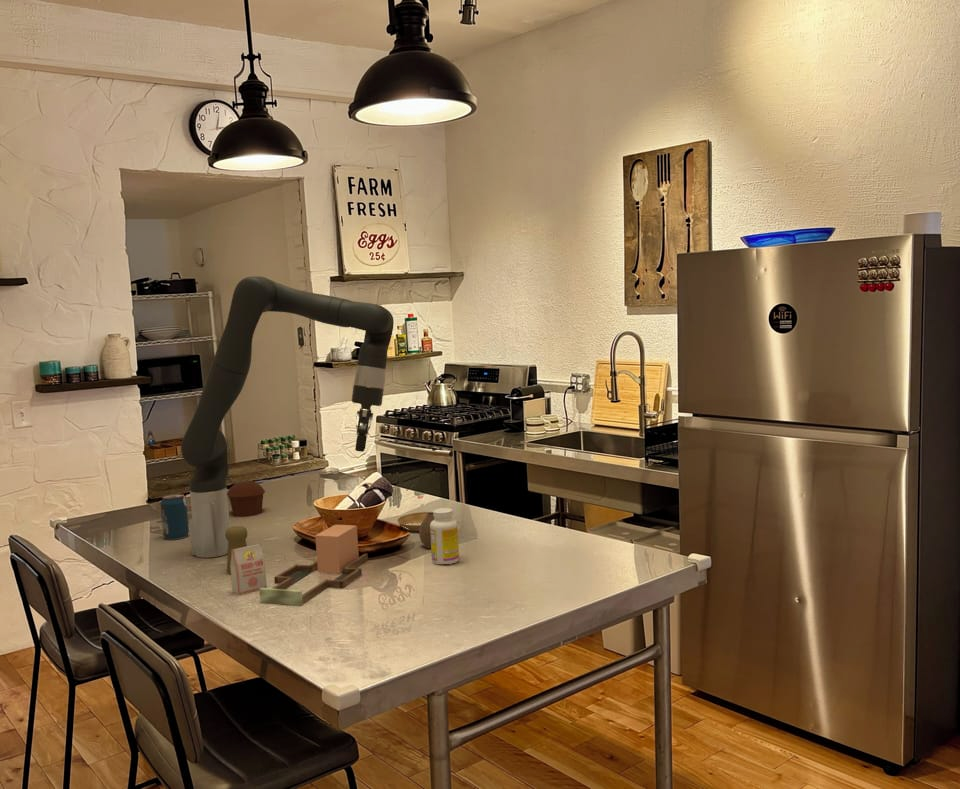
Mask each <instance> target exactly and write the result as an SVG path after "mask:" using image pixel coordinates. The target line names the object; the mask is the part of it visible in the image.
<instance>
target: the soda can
mask: <svg viewBox="0 0 960 789" xmlns="http://www.w3.org/2000/svg"><path fill="white" fill-rule="evenodd" d="M187 503H188V502H187V500H186V498H185V495H184V494H183V493H170V494H165V495H163V496H162V498H161V501H160V514H161V525H162V534H163V537H164V538H165V539H166V540H170V541H171V540H172V541H173V540H175V541H176V540H180V539H181V540H182V539H185V538H187V536H188V535H189V533H190V526H189V517H188V515H189V514H188V507H187V506H188V505H187Z"/></svg>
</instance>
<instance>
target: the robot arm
mask: <svg viewBox="0 0 960 789" xmlns="http://www.w3.org/2000/svg"><path fill="white" fill-rule="evenodd" d="M267 312H271V313H273V312H276V313H277V312H278V313H279V312H280V313H287V314H294V315H297V316H300V317H304V318H306V319H309V320H312V321H315V322H318V323H322V324H326V325H332V326H335V327H341V328H352V329H357V330H362V331H365V332H364V339H363V343H362V344H361V345H360V348H359V352H358V358H357V366H356V370H355V375H354V380H353V387H352V395H351V403H353V404H359V405H361V406H360V409H359V410H357V411H356V425H355V428H356V432H355V433H356V443H355V447H354V448H355V451H356V452H361V453H362V452H365V449H366V444H367V438H368V434H369V430H370V429H371V426H372V420H373V416H374V412H372V408H371V407H372V406H376V407H381V406H382V405H383V398H384V389H385V382H386V368H387V360H388V350H389V347H390V343H391V339H392V337H393V336H392V335H393V330H394V325H395V324H394V317H393V316H394V315H393V314H392V313H391V312H390V311H389V310H388V309H387V308H385V307H384V306H382V305H380V304H376V303H370V302H369V303H368V302H362V301H354V300H350V299H346V298H341V297H338V296H337V297H336V296H331V295H327V294H322V293H315V292H309V291H305V290H300V289H296V288H293V287H289V286H287V285H283V284H281V283H279V282H277V281H274V280H271V279H269V278H267V277H264V276H247V277H245V278H242V279H241V280H240V281H239V282H238V283H237V284H236V286H235V288H234V291H233V294H232V298H231V303H230V307H229V312H228V316H227V321H226V324H225V325H224V326H225V327H224V329H223V332H222V335H221V338H220V340H219V344H218V345H217V349H216V351H215V354H214V356H213V359H212V361H211V365H210V366H209V370H208V373H207V378H206V380H205V383H204V386H203V389H202V391H201V395H200V398H199V401H198V403H197V404H198V405H197V406H196V410H195V412H194V415H193V416H192V419H191V421H190V423H189V426H188V428H187V429H186V431H185V433H184V435H183V438H182V441H181V445H180V452H181V457H182V458H183V460H184V461H185V462H186V463H187V464H189V465H190V466H192V467H194V472H193V474H192V476H191V477H190V479H189V484H188V487H189V496H190V507H191V518H189V519H188V526H189V534H190V546H191V548H190V549H191V556H195V557H198V558H203V559H204V558H205V559H206V558H207V559H209V558H215V557H221V556H225V555H228V540H227V539H226V536H225V533H226V530H227V529H228V528H230V527H231V526H230V523H231V522H230V513H229V512H230V511H229V500H228V499H229V498H228V495H227V493H228V490H227V480H228V476H229V455H228V453H229V452H228V443H227V439H226V435H225V434H224V433H223V432H222V431H221V430H220V428H221V424H222V423H223V421H224V418H225V417H226V414H228V412H229V410H230V409H231V407H232V406H233V404H234V403H235V402H236V401H237V399H238V398H239V395H240V394H241V393H242V390H243V388H244V386H245V383H246V380H247V378H248V375H249V373H250V367H251V363H252V350H253V347H252V346H253V338H254V334H255V331H256V329H257V326H258V323H259V322H260V319H261V316H262V314H263V313H267Z"/></svg>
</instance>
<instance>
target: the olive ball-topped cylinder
mask: <svg viewBox="0 0 960 789" xmlns="http://www.w3.org/2000/svg"><path fill="white" fill-rule="evenodd" d="M225 536H226V539H227V540H228V554H227V558H226V560H227V561H226V574H227V573H228V575H231V568H230V564H231V555H232V550H233V549H238V548H243V547H247V546H248V544H247V540H246V539H247V538H248V529H247V528H246V527H245V526H243V525H235V526H230V528H228V529H227V530H226V533H225Z"/></svg>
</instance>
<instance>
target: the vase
mask: <svg viewBox="0 0 960 789" xmlns="http://www.w3.org/2000/svg"><path fill="white" fill-rule="evenodd" d="M429 512H430V513H427V515H426V517H425V519H424V520H423V522H422V523H421V526H420V530H419V532H418V535H419V539H420V542H421V544H422V545H423V546H424V547H425V548H427V547H429V548H428V549H431V533H430V524H431V522H432V521H433V520H434V518H435V517H434V516H433V511H429Z"/></svg>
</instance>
